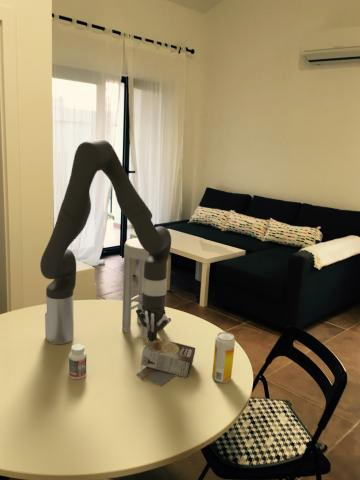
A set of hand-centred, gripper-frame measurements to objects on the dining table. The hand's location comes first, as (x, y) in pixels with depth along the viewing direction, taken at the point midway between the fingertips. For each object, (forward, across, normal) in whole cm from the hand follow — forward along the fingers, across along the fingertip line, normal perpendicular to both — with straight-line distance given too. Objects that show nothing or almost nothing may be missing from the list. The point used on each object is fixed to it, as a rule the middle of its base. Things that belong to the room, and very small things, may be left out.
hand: (152, 340), depth 145 cm
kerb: (+10, +2, 0) cm, 10 cm away
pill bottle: (+10, -15, -18) cm, 26 cm away
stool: (+10, -19, +19) cm, 29 cm away
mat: (+10, +4, 0) cm, 11 cm away
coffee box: (+5, -3, 0) cm, 6 cm away
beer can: (+10, +21, +10) cm, 25 cm away
